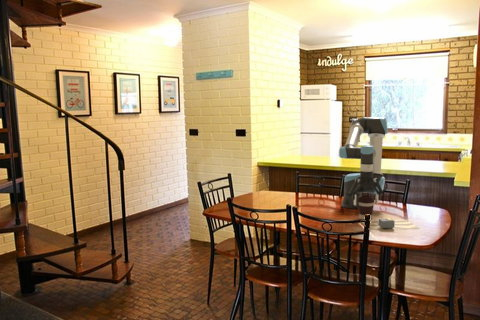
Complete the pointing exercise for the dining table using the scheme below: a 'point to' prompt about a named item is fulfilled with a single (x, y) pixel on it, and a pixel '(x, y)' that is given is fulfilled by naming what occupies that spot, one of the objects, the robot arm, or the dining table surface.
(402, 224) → the subfloor panel
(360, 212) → the coffee cup
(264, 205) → the dining table surface
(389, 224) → the block
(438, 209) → the dining table surface
